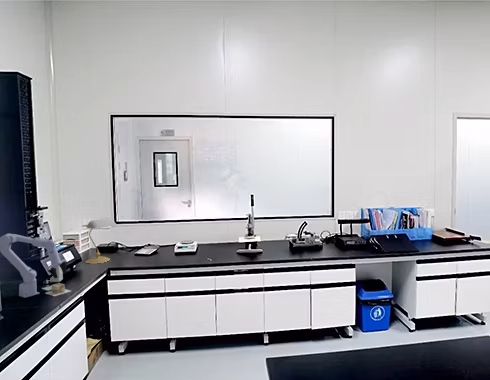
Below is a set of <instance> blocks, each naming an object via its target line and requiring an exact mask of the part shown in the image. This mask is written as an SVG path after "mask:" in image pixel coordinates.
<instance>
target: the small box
mask: <svg viewBox="0 0 490 380" xmlns="http://www.w3.org/2000/svg"><path fill="white" fill-rule="evenodd" d="M50 264H51V263H50ZM51 265H52V264H51ZM54 268H56V273H57V276H58V278H54V277H53V276H52V277H51V278H50V280H49V281H50V282H49V283H60V282H61V281H62V280H63V279H64V277H63V276H64V275H63V272H62V269H61V267H60V266H59V265H58V266H56V267H54Z"/></svg>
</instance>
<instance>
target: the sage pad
mask: <svg viewBox="0 0 490 380" xmlns="http://www.w3.org/2000/svg"><path fill="white" fill-rule="evenodd" d="M41 289H42V290H44V291H46V292H50V291H52V285H49V286H45V287H41Z"/></svg>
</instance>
